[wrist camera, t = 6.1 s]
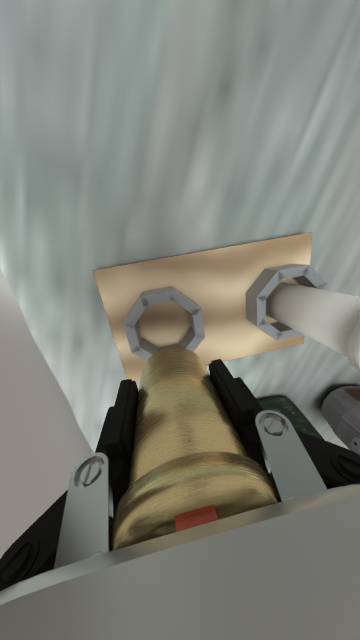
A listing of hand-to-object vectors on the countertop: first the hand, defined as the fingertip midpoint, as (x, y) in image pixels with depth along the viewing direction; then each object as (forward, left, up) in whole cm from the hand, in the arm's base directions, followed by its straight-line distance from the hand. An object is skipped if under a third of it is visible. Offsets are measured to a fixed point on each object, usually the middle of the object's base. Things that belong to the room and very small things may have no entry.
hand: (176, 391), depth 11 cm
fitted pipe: (0, +14, -11) cm, 18 cm away
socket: (0, 0, -11) cm, 11 cm away
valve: (0, 0, -2) cm, 2 cm away
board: (0, +6, -13) cm, 14 cm away
